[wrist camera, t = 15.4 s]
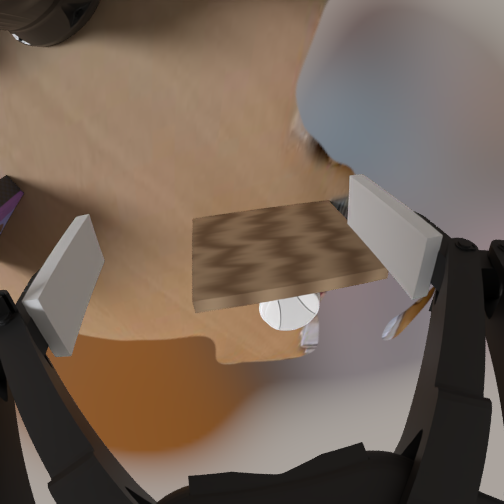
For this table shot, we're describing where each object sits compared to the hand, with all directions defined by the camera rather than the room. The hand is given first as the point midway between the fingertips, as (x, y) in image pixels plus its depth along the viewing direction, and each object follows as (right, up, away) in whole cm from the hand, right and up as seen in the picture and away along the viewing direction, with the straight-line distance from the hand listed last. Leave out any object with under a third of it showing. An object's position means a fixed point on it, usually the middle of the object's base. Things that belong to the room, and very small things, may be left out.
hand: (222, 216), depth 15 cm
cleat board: (+4, 0, +38) cm, 38 cm away
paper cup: (+4, -1, +34) cm, 35 cm away
